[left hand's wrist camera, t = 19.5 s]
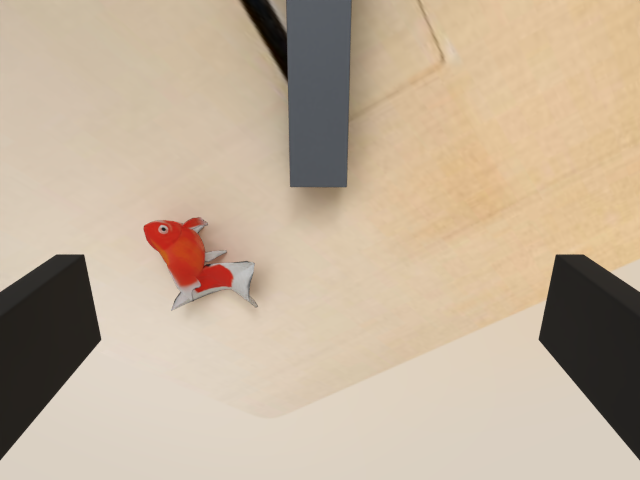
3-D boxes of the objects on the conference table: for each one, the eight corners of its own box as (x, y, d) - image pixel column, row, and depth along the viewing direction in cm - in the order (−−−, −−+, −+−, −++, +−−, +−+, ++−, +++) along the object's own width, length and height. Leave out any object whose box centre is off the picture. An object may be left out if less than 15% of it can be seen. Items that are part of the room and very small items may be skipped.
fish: (221, 177, 45) (190, 253, 39) (288, 263, 56) (273, 334, 50) (144, 197, 50) (105, 269, 43) (220, 273, 60) (198, 340, 54)
